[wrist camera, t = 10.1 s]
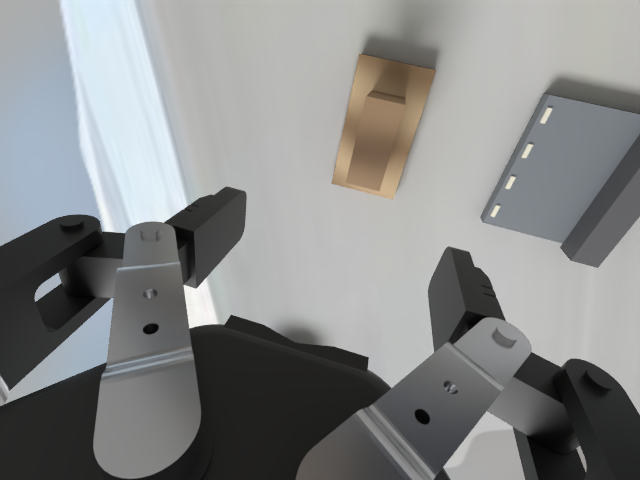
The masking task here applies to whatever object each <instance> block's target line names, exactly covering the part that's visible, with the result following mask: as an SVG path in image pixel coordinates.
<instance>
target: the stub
mask: <svg viewBox="0 0 640 480" xmlns="http://www.w3.org/2000/svg"><path fill="white" fill-rule="evenodd" d="M435 72H436V70H433V69H428V68H424V67H419V66H414V65H410V64H405V63H400V62H396V61H391V60H387V59H382V58H377V57H373V56H368V55H363V54H359V59H358V63H357V68H356V73H355V77H354V82H353V87H352V91H351V96H350V101H349V105H348V110H347V115H346V119H345V124H344V129H343V133H342V138H341V143H340V147H339V152H338V157H337V161H336V166H335V171H334V175H333V180H332V184H336V185H340V186H343V187H347V188H351V189H355V190H359V191H363V192H366V193H370V194H374V195H378V196H382V197H386V198H389V199H393V198H394V195H395V192H396V189H397V186H398V183H399V180H400V177H401V174H402V171H403V168H404V165H405V162H406V159H407V156H408V153H409V150H410V147H411V144H412V141H413V138H414V135H415V132H416V129H417V126H418V123H419V120H420V117H421V114H422V111H423V108H424V105H425V102H426V99H427V96H428V93H429V90H430V87H431V84H432V81H433V78H434V75H435Z"/></svg>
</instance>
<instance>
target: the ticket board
mask: <svg viewBox="0 0 640 480" xmlns="http://www.w3.org/2000/svg"><path fill="white" fill-rule="evenodd" d="M639 217H640V114H637V113H632V112H627V111H623V110H618V109H613V108H609V107H604V106H600V105H595V104H590V103H586V102H581V101H576V100H572V99H567V98H563V97H558V96H553V95H549V94H543V96H542V98H541V100H540V102H539V104H538V106H537V108H536V110H535V112H534V114H533V116H532V118H531V120H530V122H529V124H528V126H527V127H526V129H525V131H524V133H523V135H522V137H521V139H520V141H519V143H518V145H517V147H516V149H515V151H514V153H513V155H512V157H511V159H510V161H509V163H508V165H507V167H506V169H505V171H504V172H503V174H502V176H501V178H500V180H499V182H498V184H497V186H496V188H495V190H494V192H493V194H492V196H491V198H490V200H489V202H488V204H487V206H486V208H485V210H484V212H483V214H482V216H481V219H482V222H483V223H487V224H491V225H494V226H498V227H502V228H506V229H510V230H514V231H518V232H521V233H525V234H529V235H533V236H537V237H541V238H544V239H548V240H552V241H556V242H560V243H563V244H562V245H561V247H560V248H561V249H562V250H563V252H564V253H565V254H566V255H567V257H568V258H569V259H570V260H571V261H574V262H578V263H582V264H586V265H590V266H593V267H597V268H598V267H599V266H600V265H601V263H602V262H603V261H604V260H605V258H606V257H607V256H608V255H609V253H610V252H611V251H612V250H613V249H614V247H615V246H616V245H617V244H618V242H619V241H620V240H621V239H622V237H623V236H624V235H625V234H626V233H627V231H628V230H629V229H630V228H631V226H632V225H633V224H634V223H635V221H636V220H637V219H638V218H639Z"/></svg>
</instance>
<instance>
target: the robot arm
mask: <svg viewBox="0 0 640 480" xmlns="http://www.w3.org/2000/svg"><path fill="white" fill-rule="evenodd" d="M245 215H246V192H245V191H242V190H238V189H234V188H231V187H225V188H223V189H222V190H221V191H219V192H218V193H216V194H215V195H208V196H205V197H202V198H199V199H197V200H196V201H195V202H193V203H192V204H191V205H189V206H187V207H186V208H185V209H184V210H182V211H180V212H179V213H177V214H176V215H174V216H173V217H171V218H170V219H169V220H167V221H166V222H164V223H162V222H144V223H140V224H137V225H134V226H132V227H131V228H129V229H128V230H127V231H126V233H114V232H102V229H101V225H100V221H99V220H98V219H97V218H95V217H93V216H88V215H68V216H63V217H59V218H56V219H53V220H51V221H49V222H47V223H46V224H43V225H41V226H39V227H37V228H36V229H33V230H31V231H30V232H28V233H26V234H24V235H22V236H20V237H18V238H16V239H14V240H12V241H10V242H8V243H6V244H4V245H3V246H0V480H450V478H449V476H448V475H447V473H446V472H445V470H444V468H443V466H444V465H445V464H446V463H447V461H448V460H449V459H450V457H451V456H452V455H453V454H454V452H455V451H456V450H457V448H458V447H459V446H460V445H461V443H462V442H463V441H464V439H465V438H466V437H467V436H468V434H469V433H470V432H471V430H472V429H473V428H474V427H475V425H476V424H477V423H478V421H479V420H480V419H481V417H482V416H483V415H484V414H485V412H486V411H488V412H490V413H491V414H493V415H495V416H496V417H498V418H499V419H501V420H503V421H504V422H506V423H508V424H509V425H511V426H513V430H514V434H515V438H516V442H517V446H518V451H519V455H520V459H521V463H522V467H523V471H524V476H525V480H640V415H639V413H638V412H637V410H636V408H635V407H634V405H633V403H632V402H631V400H630V398H629V397H628V395H627V393H626V392H625V390H624V389H623V388H622V386H621V385H620V384H619V383H618V382H617V381H616V380H615V379H614V378H613V377H612V376H610V375H609V374H608V373H607V372H605V371H604V370H602V369H601V368H599V367H597V366H596V365H594V364H592V363H589V362H587V361H584V360H580V359H570V360H568V361H567V362H566V363H565V364H564V365H563V366H562V367H559V366H557V365H555V364H553V363H551V362H550V361H548V360H546V359H544V358H542V357H540V356H538V355H536V354H534V353H532V352H531V351H532V347H531V344H530V342H529V340H528V339H527V337H526V336H525V335H524V334H523V333H522V332H521V331H520V330H519V329H517V328H516V327H515V326H513V325H512V324H510V323H508V322H506V320H505V318H504V315H503V313H502V310H501V307H500V305H499V302H498V300H497V298H496V295H495V292H494V290H492V289H493V287H492V284H491V282H490V279H489V278H488V277H487V275H486V274H485V273H484V272H483V271H482V270H481V269H480V268H477V267H474V264H473V261H472V258H471V255H470V253H469V252H467V251H464V250H460V249H456V248H453V247H447V248H446V249H445V251H444V253H443V255H442V257H441V259H440V261H439V263H438V266H437V268H436V270H435V272H434V274H433V276H432V278H431V281H430V284H429V289H428V298H429V307H430V317H431V326H432V335H433V345H434V353H433V354H432V355H431V356H430V357H429V358H427V359H426V360H425V361H424V362H423V363H421V364H420V365H419V366H418V367H417V368H415V369H414V370H413V371H412V372H411V373H409V374H408V375H407V376H406V377H405V378H403V379H402V380H401V381H400V382H399V383H397V384H396V385H395V386H394V387H393V388H391V387H390V386H389V385H388V384H387V383H386V382H384V381H383V380H382V379H381V378H380V377H378V376H377V375H376V374H374V373H373V372H371V371H369V370H368V369H367V368H368V359H369V357H365V356H362V355H359V354H356V353H352V352H349V351H346V350H343V349H340V348H336V347H332V346H321V345H310V344H299V343H295V342H293V341H291V340H289V339H287V338H286V337H284V336H282V335H280V334H279V333H277V332H275V331H273V330H272V329H270V328H268V327H266V326H265V325H262V324H259V323H256V322H253V321H249V320H246V319H243V318H240V317H236V316H233V315H231V316H230V317H229V319H228V320H227V322H226V323H225V325H221V324H215V325H203V326H198V327H194V328H190V329H189V324H188V316H187V309H186V301H185V294H184V287H183V285H187V286H190V287H193V288H197V287H198V286H199V285H200V284H201V283H202V282H203V280H204V279H205V278H206V277H207V276H208V275H209V274H210V273H211V272H212V270H213V269H214V268H215V267H216V266H217V265H218V264H219V263H220V261H221V260H222V259H223V258H224V257H225V256H226V255H227V254H228V252H229V251H230V250H231V249H232V248H233V247H234V246H235V245H236V244H237V242H238V241H239V240H240V239H241V237H242V235H243V232H244V228H245ZM56 273H59V276H60V279H61V282H62V283H61V284H60V285H58V286H57V287H56V288H54V289H53V290H52V291H50V292H49V293H47V294H46V295H45V296H43V297H42V298H40V299H39V300H38V301H36V302H35V300H34V296H35V292H36V290H37V289H38V287H39V286H40V285H41V284H42V283H43V282H45V281H46V280H48V279H49V278H51V277H52V276H54V275H55V274H56ZM110 298H114V300H113V310H112V320H111V329H110V338H109V347H108V357H107V362H106V363H104V364H101V365H99V366H96V367H94V368H92V369H89V370H87V371H84V372H82V373H79V374H77V375H75V376H72V377H70V378H68V379H65V380H62V381H60V382H58V383H55V384H53V385H50V386H48V387H46V388H43V389H41V390H38V391H36V392H33V393H31V394H29V395H26V396H24V397H21V398H19V399H17V400H14V401H12V402H9V403H7V404H5V402H6V400H7V398H8V394H9V391H10V390H11V389H12V388H13V387H14V386H15V385H16V384H17V383H19V382H20V381H21V380H22V379H23V378H24V377H25V376H26V375H27V374H28V373H29V372H30V371H32V370H33V369H34V368H35V367H36V366H37V365H38V364H39V363H40V362H42V361H43V359H45V358H46V357H47V356H48V355H49V354H50V353H51V352H53V351H54V350H55V349H56V348H57V347H58V346H59V345H60V344H61V343H62V342H64V341H65V340H66V339H67V338H68V337H69V336H70V335H71V334H72V333H73V332H74V331H76V330H77V329H78V328H79V327H80V326H81V325H82V324H83V323H84V322H85V321H87V320H88V318H90V317H91V316H92V315H93V314H94V313H95V312H96V311H98V309H100V308H101V307H102V306H103V305H104V304H105V303H106V302H107V301H109V300H110ZM578 446H581V449H582V451H583V454H584V456H585V459H586V464H587V472H585V470H584V467H583V465H582V462H581V459H580V457H579V454H578V452H577V449H576V448H577V447H578Z"/></svg>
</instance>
